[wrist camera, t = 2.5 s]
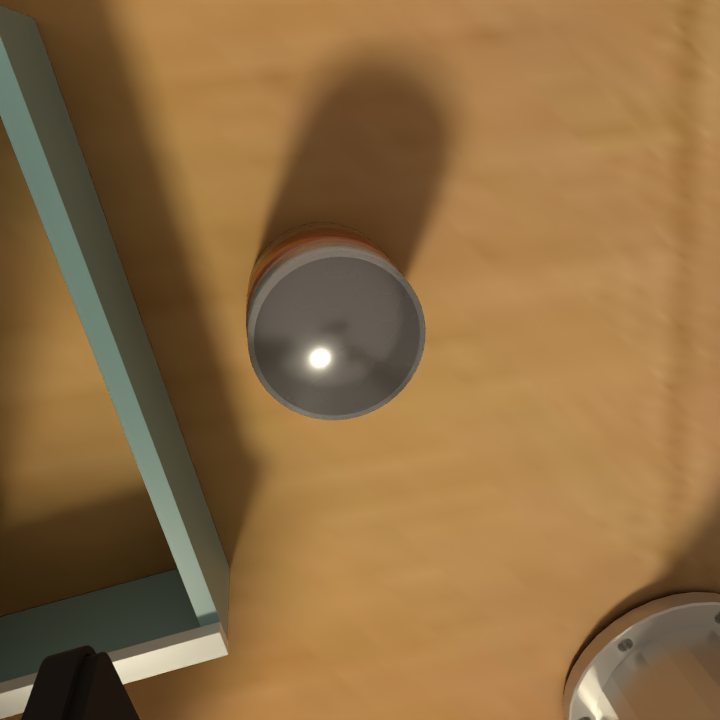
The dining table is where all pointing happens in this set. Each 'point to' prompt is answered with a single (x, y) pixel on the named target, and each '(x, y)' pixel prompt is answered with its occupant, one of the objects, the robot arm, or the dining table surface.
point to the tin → (331, 323)
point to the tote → (133, 406)
